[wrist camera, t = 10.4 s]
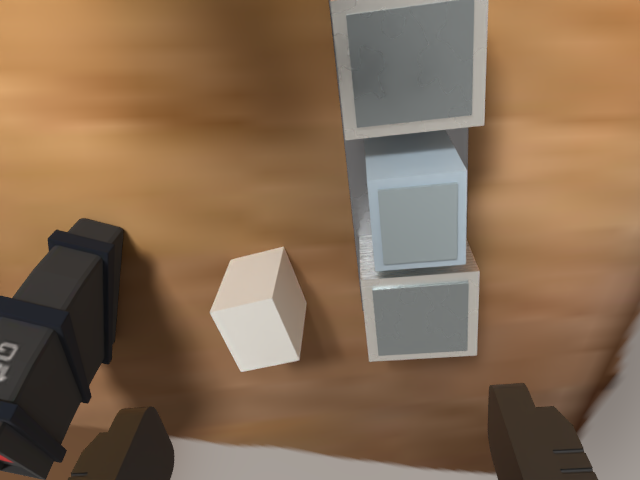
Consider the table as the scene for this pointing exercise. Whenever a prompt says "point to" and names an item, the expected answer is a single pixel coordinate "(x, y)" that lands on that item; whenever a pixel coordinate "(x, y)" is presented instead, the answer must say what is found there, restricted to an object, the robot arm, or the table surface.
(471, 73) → the grey notched bar
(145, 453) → the robot arm
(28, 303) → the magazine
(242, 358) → the block
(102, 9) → the table surface
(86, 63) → the table surface
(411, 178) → the block
